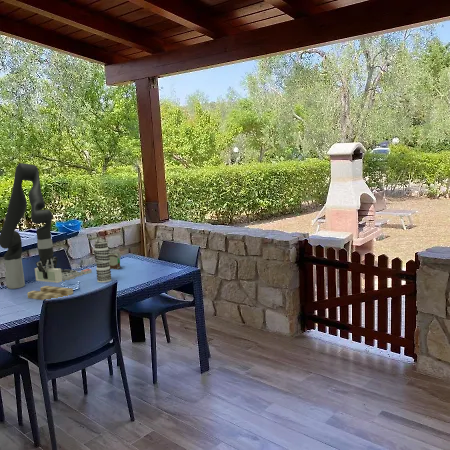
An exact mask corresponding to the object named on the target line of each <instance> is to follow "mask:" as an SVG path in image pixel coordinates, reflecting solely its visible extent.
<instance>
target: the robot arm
mask: <svg viewBox="0 0 450 450" xmlns="http://www.w3.org/2000/svg"><path fill="white" fill-rule="evenodd" d="M13 179H14V180H13V185H12V190H11V194H10V199H9V201H8V206H7V210H6V214H5V217H4V218H5V219H4V221H3V225H2V228H1V231H0V247H1V248H2V249H3V250H5V249H7V251H6V252H5V253H4V254H3V261H4V267H5V271H4V277H5V283H6V288H7V289H12V290H15V289H20V288H23V287H24V286H26V284H25V275H24V267H23V261H22V260H23V259H22V253H23V246H22V245H23V244H22V243H23V242H22V237H21V235H20V233H19V232H18V231H16V228H17V226H18V225H19V223H20V222H21V220H22V219H23V217H24V215H25V213H26V209H27V205H28V202H27V201H29V203H30V204H29V205H30V207H31V214H30V219H31V220H30V221H31V222H32V224H35V225H38V224H39V225H40V224H44V225H43V226H41V227H38V228H37V229H36V240H37V241H36V242H37V243H36V245H37V251H38V252H37V253H38V256H39V261H36V262H35V266H36V268H38V270H39V272H42V273H43V278H44V279H48V276H47V268H57V264H58V260H59V259H58V257H57V256H54V246H53V244H54V243H53V240H52V232H51V228H52V221H53V213H52V211H51V210H50V209H44V208H45V207H46V203H45V200H44V197H43V193H42V189H41V188H42V187H41V179H40V171H39V169H38V167H37V166H36V165H35V164H31V163H22V162H21V163H18V164H17V166H16V167H15V172H14V178H13ZM23 181H28V182H31V183H32V187H31V189H30V191H29V193H28V200H27V198H26V196H25V193H24V191H23V187H22V186H23ZM44 268H45V270H44Z"/></svg>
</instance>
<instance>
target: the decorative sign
mask: <svg viewBox="0 0 450 450" xmlns="http://www.w3.org/2000/svg"><path fill="white" fill-rule="evenodd" d="M61 273H62V280H63V281H62V282H66V281H65V280H67V281H70V279H71V280H73V279H75V278H78V277H81V276H83V275H89V274H92V268H86V269H82V270H80V271H77V270H74V269H61Z"/></svg>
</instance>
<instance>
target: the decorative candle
mask: <svg viewBox="0 0 450 450" xmlns="http://www.w3.org/2000/svg"><path fill="white" fill-rule="evenodd" d="M108 242H109V241H107V240H106V238H104V239H103V238H101V239H96V240H95V241H94V242H93V244H94V250H93V253H94V254H93V255H94V256H93V257H94V258H93V259H95V260H94V262H95V264H96V265H95V266H96V267H95V268H96V270H95V271H96V280H97V281H96V282H97V283H108V282H111V281H112V274H111V272H112V271H111V270H112V269H110V265H109V261H110V258H109V257H110V256H109V255H108V254H110V253H111V252H110V249H109V247H108Z"/></svg>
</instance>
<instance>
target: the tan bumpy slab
mask: <svg viewBox="0 0 450 450" xmlns="http://www.w3.org/2000/svg"><path fill="white" fill-rule="evenodd" d="M39 289H40V290H31V291H28V292H27V298H28V299H34V300H43V301H45V300H44V299H51V298H58V297H63V296H67V297H69V296H68V295H70V296H72V295H74V288H70V287H60V286H51V285H44V286H41V287H40V288H39Z"/></svg>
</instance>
